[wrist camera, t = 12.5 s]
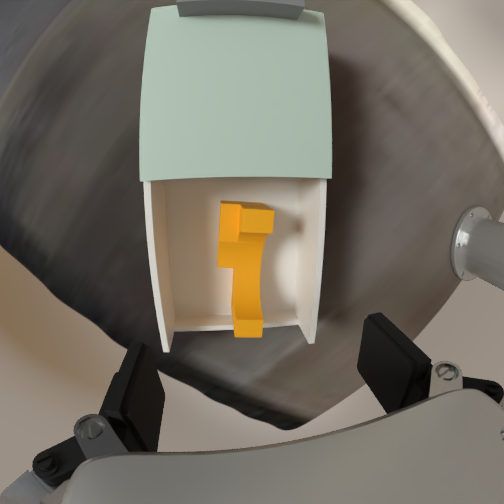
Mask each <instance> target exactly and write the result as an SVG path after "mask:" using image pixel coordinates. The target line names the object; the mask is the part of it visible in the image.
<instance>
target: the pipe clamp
mask: <svg viewBox="0 0 504 504" xmlns="http://www.w3.org/2000/svg"><path fill="white" fill-rule="evenodd" d="M274 213H275V211H274V210H273V209H271V208H270V207H268V206H267V205H265V204H263V203H258V202H243V201H226V200H221V202H220V219H219V237H218V257H217V267H218V268H233V279H232V296H231V312H232V320H233V327H234V335H235V337H262V330H263V321H264V319H263V316H262V310H261V301H260V270H261V259H262V252H263V247H264V243H265V240H266V237H267V235H268V234H273V224H274Z"/></svg>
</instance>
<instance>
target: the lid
mask: <svg viewBox="0 0 504 504" xmlns="http://www.w3.org/2000/svg"><path fill="white" fill-rule="evenodd" d="M176 4H177V5H173V6H165V7H157V8H152V10H151V15H150V21H149V28H148V34H147V41H146V49H145V58H144V67H143V78H142V91H141V109H140V181H152V180H166V179H183V178H205V177H307V178H330V179H332V119H331V93H330V76H329V62H328V50H327V40H326V30H325V21H324V14H323V13H320V12H315V11H310V10H304V8H305V2H304V0H176Z"/></svg>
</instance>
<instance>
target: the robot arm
mask: <svg viewBox="0 0 504 504" xmlns="http://www.w3.org/2000/svg"><path fill="white" fill-rule="evenodd" d="M451 262H452V267H453V270H454V272H455V274H456V275H457V276H458V277H459V278H460V279H462V280H465V281H470V280H473V279H475V278H476V277H479V278H481V279H483V280H485V281H487V282H489V283H491V284H492V285H494V286H497V287H498V288H500V289H502V290H504V223H502V222H498V221H495V220H492V218H491V215H490V213H489V212H488V211H487V210H486V209H485V208H483V207H479V206H474V207H471V208H469V209H468V210H467V211H466V212H465V213H464V214H463V216H462V217H461V218H460V220H459V222H458V224H457V227H456V229H455V232H454V236H453V240H452V245H451ZM357 368H358V371H359V373H360V374H361V376H362V377H363V379H364V380H365V382H366V383H367V385H368V386H369V387H370V389H371V391H372V392H373V394H374V395H375V397H376V398H377V400H378V401H379V403H380V404H381V405H382V407H383V408H384V410H385V411H386V413H387V414H386V415H384V416H381V417H378V418H375V419H372V420H369V421H366V422H363V423H360V424H357V425H354V426H350V427H347V428H343V429H340V430H336V431H332V432H329V433H325V434H321V435H317V436H312V437H308V438H303V439H299V440H293V441H288V442H283V443H277V444H271V445H265V446H257V447H250V448H241V449H231V450H217V451H198V452H157V449H158V440H159V434H160V427H161V421H162V414H163V408H164V401H165V392H164V389H163V386H162V383H161V381H160V378H159V374H158V371H157V368H156V365H155V362H154V359H153V356H152V353H151V349H150V347H149V346H146V345H145V343H131V344H130V346H129V348H128V350H127V353H126V355H125V358H124V360H123V362H122V365H121V367H120V370H119V372H117V373H115V375H114V376H113V379H112V381H111V384H110V386H109V389H108V391H107V394H106V396H105V399H104V401H103V404H102V406H101V409H100V412H99V414H98V415H97V414H89V415H86V416H83V417H82V418H80V419H79V420H78V421H77V422H76V424H75V426H74V434H75V436H73V437H71V438H69V439H67V440H65V441H63V442H61V443H59V444H57V445H55V446H53V447H51V448H49V449H47V450H45V451H42V452H41V453H39V454H38V455H37V456H36V457H35V458H34V460H33V466H32V467H33V470H32V471H31V472H29V471H28V470H27V471H26V472H25V473H24V474H22V475H21V476H20V477H19V478H18V479H17V480H16V481H14V482H13V483H12V484H11V485H10V486H9V487H7V488H6V489H5V490H4V491H3V492H2V493H1V496H0V504H504V391H503V388H502V387H501V386H500V385H499V384H498V383H496V382H494V381H489V380H483V379H476V378H469V377H463V376H462V372H461V369H460V368H459V366H457V365H456V364H454V363H452V362H448V361H441V362H438V363H436V364H434V366H433V365H432V364H431V359H430V358H429V357H428V356H427V355H426V354H425V353H424V352H423V351H422V350H420V349H419V348H418V347H417V346H416V345H415V344H414V343H413V342H412V341H411V340H410V339H409V338H408V337H407V336H406V335H405V334H404V333H403V332H402V331H400V330H399V329H398V328H397V327H396V326H395V325H394V324H393V323H392V322H391V321H390V320H389V319H388V318H386V317H385V316H384V315H383V314H382V313H380V312H379V313H375V314H370V315H368V317H367V318H366V319H365V320H364V326H363V333H362V340H361V346H360V352H359V358H358V363H357Z"/></svg>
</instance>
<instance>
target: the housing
mask: <svg viewBox="0 0 504 504" xmlns="http://www.w3.org/2000/svg"><path fill="white" fill-rule="evenodd" d="M326 187H327V178H307V177H205V178H183V179H166V180H152V181H144V202H145V218H146V232H147V243H148V253H149V262H150V271H151V279H152V287H153V294H154V301H155V307H156V313H157V319H158V325H159V331H160V336H161V342H162V347H163V352H170V347H171V343H172V338H173V334H174V331H210V330H233V329H234V327H233V320H232V312H231V296H232V279H233V268H218V267H217V257H218V237H219V219H220V202H221V200H226V201H243V202H258V203H263V204H265V205H267V206H268V207H270V208H271V209H273V210H274V211H275V213H274V224H273V234H268V235H267V237H266V240H265V243H264V247H263V252H262V259H261V270H260V301H261V310H262V316H263V319H264V321H263V328H265V327H278V326H289V325H299V326H300V328H301V330H302V332H303V334H304V336H305V338H306V339H307V341H308V343H309V344H311V343H314V342H315V334H316V326H317V318H318V308H319V299H320V289H321V277H322V265H323V252H324V236H325V216H326Z"/></svg>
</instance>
